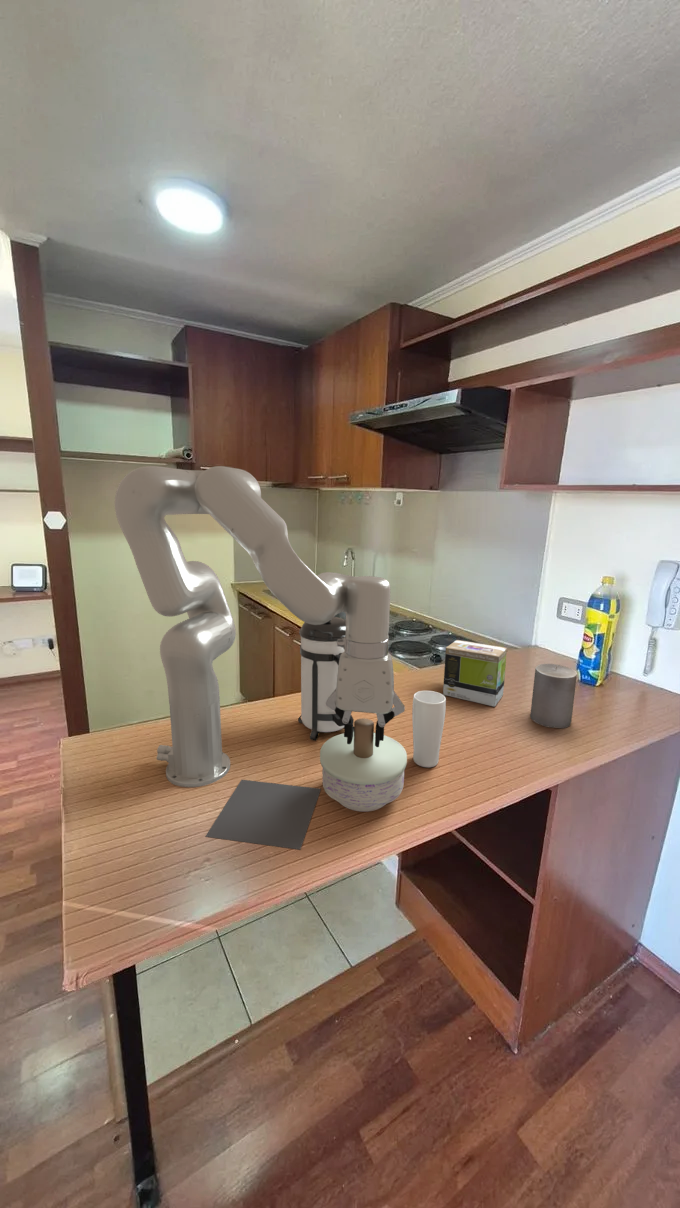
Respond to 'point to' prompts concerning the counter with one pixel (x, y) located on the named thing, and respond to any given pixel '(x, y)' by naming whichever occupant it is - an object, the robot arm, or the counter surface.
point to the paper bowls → (362, 792)
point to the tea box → (474, 672)
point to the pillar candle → (553, 695)
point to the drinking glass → (427, 727)
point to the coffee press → (320, 674)
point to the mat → (266, 814)
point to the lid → (363, 756)
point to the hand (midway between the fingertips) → (363, 741)
